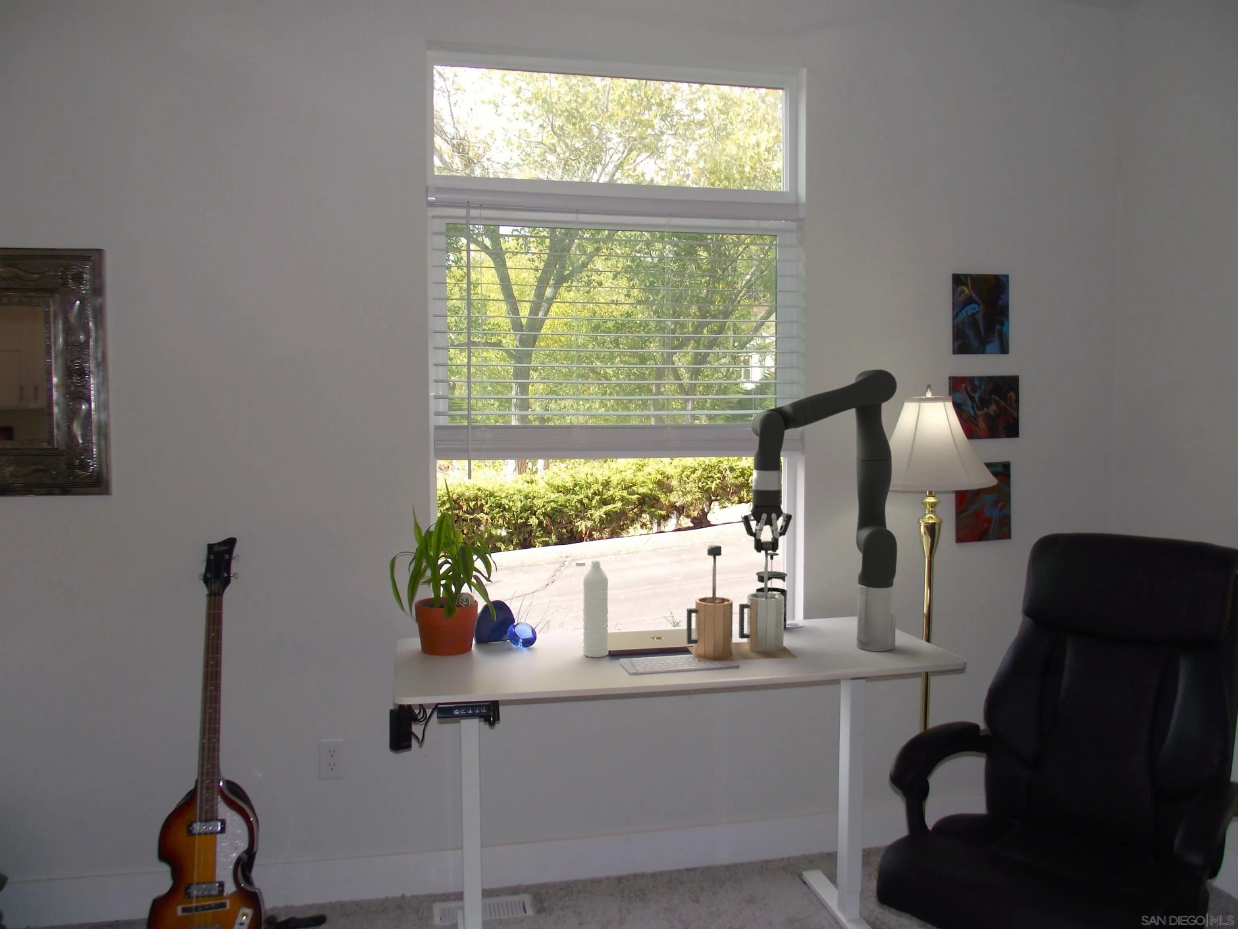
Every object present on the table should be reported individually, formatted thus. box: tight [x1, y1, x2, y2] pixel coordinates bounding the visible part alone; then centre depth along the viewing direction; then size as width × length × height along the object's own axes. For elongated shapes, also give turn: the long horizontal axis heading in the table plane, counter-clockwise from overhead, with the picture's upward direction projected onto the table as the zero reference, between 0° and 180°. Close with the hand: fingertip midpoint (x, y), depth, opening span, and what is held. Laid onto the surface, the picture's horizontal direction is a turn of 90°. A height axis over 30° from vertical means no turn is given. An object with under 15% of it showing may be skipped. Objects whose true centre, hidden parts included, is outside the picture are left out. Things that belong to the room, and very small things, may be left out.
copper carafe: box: [686, 596, 734, 659], centre depth 226 cm, size 12×9×14 cm
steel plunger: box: [757, 540, 775, 599], centre depth 231 cm, size 7×7×16 cm
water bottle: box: [575, 560, 609, 658], centre depth 229 cm, size 9×6×25 cm
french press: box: [755, 552, 788, 630], centre depth 255 cm, size 12×9×23 cm
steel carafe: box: [738, 592, 785, 653], centre depth 232 cm, size 12×9×14 cm
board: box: [686, 641, 798, 663], centre depth 230 cm, size 26×16×1 cm, turn 99°
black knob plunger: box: [706, 544, 722, 604], centre depth 226 cm, size 7×7×16 cm
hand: (766, 551), depth 230 cm, fingers closed on steel plunger, 3 cm apart
